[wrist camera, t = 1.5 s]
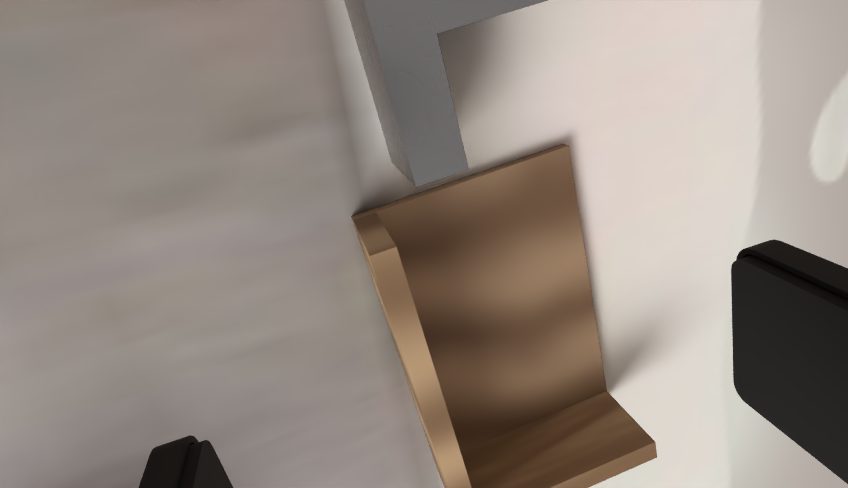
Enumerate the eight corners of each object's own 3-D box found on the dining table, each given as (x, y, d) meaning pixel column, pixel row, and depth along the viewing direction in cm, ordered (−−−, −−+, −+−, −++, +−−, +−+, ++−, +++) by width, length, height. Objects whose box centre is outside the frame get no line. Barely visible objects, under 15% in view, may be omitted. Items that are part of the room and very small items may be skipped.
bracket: (342, -8, 25) (358, -17, 20) (494, -51, 26) (543, -69, 21) (392, 162, 28) (416, 187, 23) (525, 117, 29) (573, 133, 24)
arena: (351, 216, 28) (369, 256, 23) (563, 143, 30) (623, 166, 25) (437, 468, 35) (465, 541, 30) (603, 399, 37) (657, 457, 32)
